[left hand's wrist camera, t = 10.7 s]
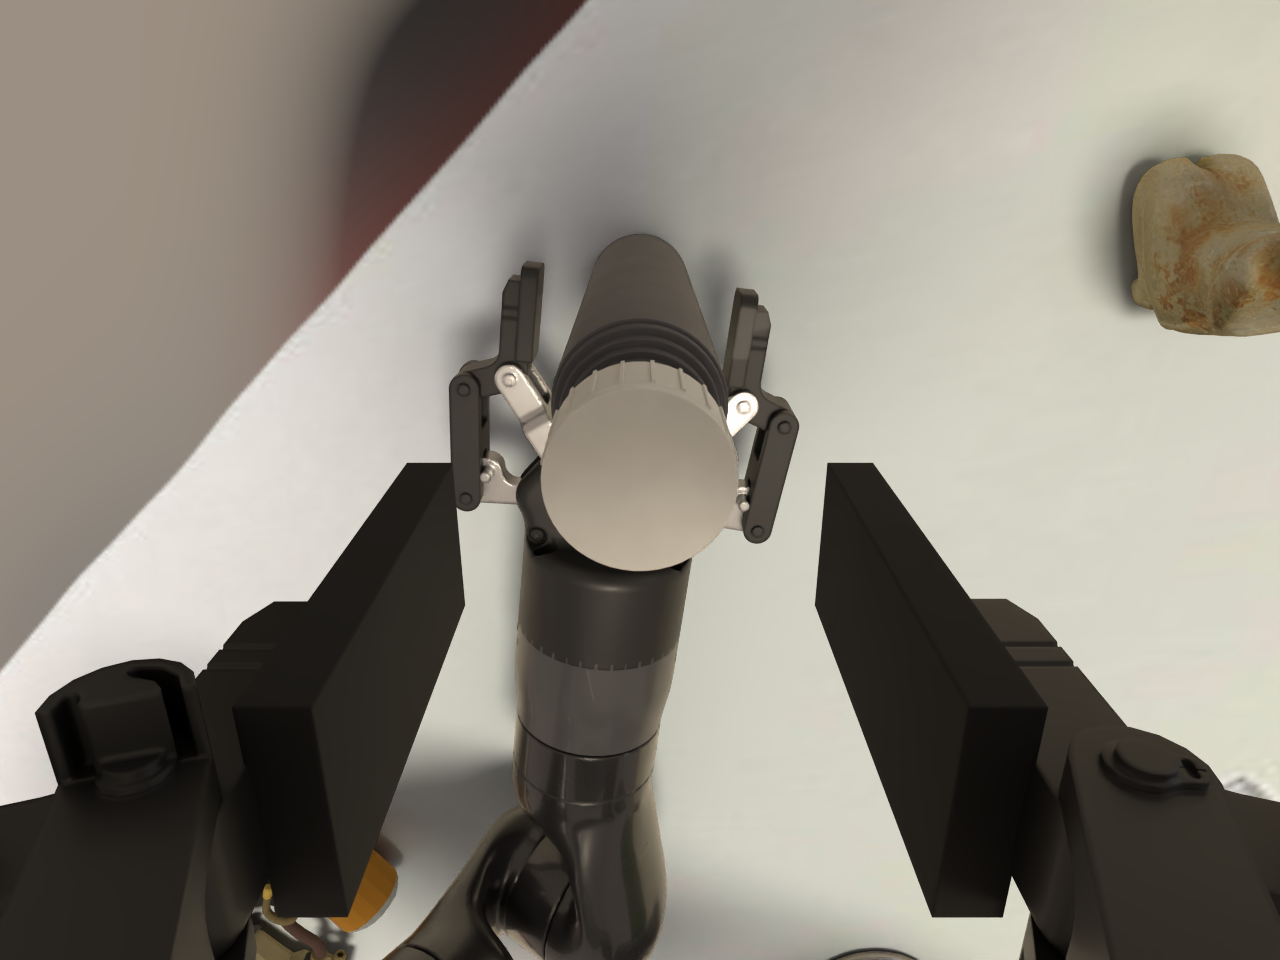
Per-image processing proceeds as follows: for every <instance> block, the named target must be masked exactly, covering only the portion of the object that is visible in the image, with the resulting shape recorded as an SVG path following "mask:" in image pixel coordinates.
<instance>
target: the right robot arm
mask: <svg viewBox="0 0 1280 960" xmlns="http://www.w3.org/2000/svg"><path fill="white" fill-rule="evenodd" d="M543 281H544V263H538V262H530V261H526V262H525V264H524V265H523V266H522V270H521V275H513V276H512V277H511V278H510V279H509V280H508V282H507V284H506V286H505V288H504V290H503V294H502V311H501V328H500V345H499V354H498V356H496V357H494V358H492V359H488V360H483V361H476V360H472V361H468V362H467V363H465V364H464V365H463V366H462V368H461V369H460V371H459V373H458V374H457V375H456V376H455V377H454V378H453V379H452V381H451V382H450V385H449V408H450V445H451V463H452V464H453V475H454V486H455V497H456V507H457V508H458V509H460V510H462V511H472V510H474V509H476V508H477V507H478V506H479V504H480V502H484V503H502V504H517V505H518V507H519V509H520V510H521V512H522V515H523V517H524V521H525V541H524V554H523V567H522V580H521V593H520V605H519V619H518V625H517V631H518V634H517V646H516V658H515V674H516V687H517V713H516V726H515V739H514V752H513V773H512V775H513V786H514V790H515V794H516V798H517V800H518V802H519V804H518V805H516V806H514V807H512V808H510V809H509V810H507V811H506V812H505V813H503V814H502V815H501V816H500V817H499V818H498V819H497V820H496V821H495V822H494V823H493V825H492V826H491V827H490V829H489V830H488V831H487V832H486V834H485V835H484V837H483V838H482V840H481V841H480V843H479V845H478V846H477V848H476V849H475V851H474V852H473V854H472V855H471V857H470V858H469V860H468V862H467V863H466V864H465V866H464V867H463V869H462V870H461V872H460V873H459V874H458V876H457V877H456V879H455V880H454V881H453V883H452V884H451V885H450V887H449V888H448V889H447V891H446V892H445V893H444V895H443V896H442V897H441V899H440V900H439V901H438V903H437V904H436V905H435V906H434V908H433V909H432V910H431V912H430V913H429V914H428V916H427V917H426V918H425V919H424V921H423V922H422V923H421V924H420V926H419V927H418V928H417V929H416V930H415V931H414V933H413V934H412V935H411V936H410V937H408V938H407V939H406V940H405V941H404V942H402V943H401V944H400V945H399V946H397V947H396V948H395V949H394V950H393V951H392V952H391V953H389V954H388V955H387V956H386V957H385V958H383V959H382V960H513V958H512V957H511V955H510V953H509V952H508V950H507V949H506V947H505V946H504V945H503V943H502V942H501V941H500V939H499V938H498V937H499V936H500V935H502V934H506V935H507V936H509V937H510V938H511V939H513V940H514V941H515V942H517V943H518V944H519V945H521V946H522V947H523V948H524V949H526V950H527V951H528V952H530V953H531V954H532V955H534V956H535V957H536V958H538V959H539V960H648V959H649V957H650V955H651V954H652V952H653V949H654V947H655V945H656V943H657V940H658V938H659V934H660V931H661V927H662V924H663V920H664V913H665V906H666V891H667V882H666V870H665V861H664V854H663V848H662V842H661V837H660V831H659V825H658V819H657V812H656V804H655V799H654V794H653V790H652V784H651V777H652V771H653V766H654V760H655V754H656V747H657V741H658V734H659V728H660V721H661V716H662V713H663V710H664V706H665V704H666V701H667V698H668V695H669V691H670V688H671V683H672V678H673V673H674V667H675V661H676V654H677V648H678V642H679V636H680V630H681V623H682V617H683V611H684V605H685V599H686V592H687V586H688V580H689V574H690V567H691V561H692V557H691V558H689V559H687V560H685V561H683V562H681V563H679V564H676V565H673V566H670V567H666V568H662V569H658V570H650V571H630V570H621V569H617V568H613V567H609V566H606V565H603V564H601V563H598V562H596V561H594V560H592V559H590V558H588V557H586V556H585V555H583V554H582V553H580V552H579V551H577V550H576V549H575V548H574V547H573V546H571V545H570V544H569V543H568V542H567V541H566V540H565V539H564V538H563V536H562V535H561V534H560V533H559V532H558V530H557V529H556V527H555V526H554V524H553V523H552V521H551V519H550V517H549V515H548V513H547V510H546V507H545V504H544V501H543V496H542V491H541V468H542V465H540V461H541V458H542V455H543V452H544V448H545V445H546V442H547V439H548V433H549V430H550V426H551V423H552V420H553V419H552V414H551V394H552V391H551V390H550V389H549V387H548V386H547V384H546V383H545V381H544V379H543V378H542V376H541V375H540V373H539V372H538V370H537V369H536V367H535V366H534V364H533V361H534V358H535V356H536V354H537V352H538V347H539V334H540V321H541V307H542V294H543ZM770 328H771V323H770V319H769V314H768V311H767V310H766V309H765V307H764V306H761V305H758V294H757V293H756V292H755V290H752V289H743V288H737V289H736V292H735V296H734V303H733V309H732V315H731V321H730V328H729V334H728V340H727V346H726V353H725V359H724V365H723V371H722V372H723V375H724V378H725V382H726V386H727V390H728V399H729V404H728V416H727V424H728V427H729V431H730V432H731V436H732V437H733V436H734V435H735V434H736V433H737V432H738V431H739V430H740V429H741V428H742V427H743V426H745V425H746V424H747V423H751V424H753V425H755V426H757V431H756V435H755V439H754V443H753V447H752V451H751V455H750V459H749V463H748V467H747V471H746V475H745V479H738V492H737V497H736V502H735V505H734V508H733V511H732V513H731V515H730V517H729V519H728V521H727V523H726V525H725V526H724V528H727V529H733V530H739V531H743V533H744V536H745V538H746V539H747V540H748V541H749V542H751V543H755V544H758V543H762V542H765V541H766V540H767V539H768V538H769V537H770V535H771V532H772V528H773V524H774V521H775V517H776V513H777V509H778V506H779V502H780V498H781V494H782V491H783V487H784V483H785V479H786V475H787V472H788V468H789V464H790V460H791V457H792V453H793V449H794V445H795V442H796V438H797V434H798V430H799V422H798V420H797V418H796V416H795V415H794V413H793V411H792V409H791V407H790V406H789V404H788V402H787V401H786V400H785V399H784V398H782V397H777V396H776V397H775V396H773V395H771V394H769V393H767V392H765V391H764V390H762V389H761V378H762V373H763V367H764V361H765V356H766V349H767V345H768V339H769V333H770ZM496 394H502V395H503V397H504V398H505V400H506V401H507V403H508V404H509V406H510V407H511V409H512V410H513V412H514V413H515V415H516V416H517V418H518V419H519V421H520V423H521V427H522V430H523V432H524V434H525V436H526V437H527V439H528V440H529V442H530V443H531V445H532V446H533V448H534V449H535V451H536V452H537V454H538V455H539V456H538V457H537V458H536V459H535V460H534V461H533V462H532V463H531V464H530V465H529V466H528V468H527V469H526V470H525V471H524V472H523V474H522V475H521V477H516V476H513V475H512V474H510V473H509V472H508V470H507V469H506V466H505V461H504V459H503V457H502V456H501V455H500V454H499V453H497V452H494V451H490V438H489V396H492V395H496ZM837 960H914V959H911V958H909V957H907V956H904V955H900V954H897V953H891V952H883V951H870V952H861V953H855V954H851V955H847V956H844V957H841V958H839V959H837Z"/></svg>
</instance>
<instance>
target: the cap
mask: <svg viewBox="0 0 1280 960" xmlns="http://www.w3.org/2000/svg"><path fill="white" fill-rule="evenodd" d="M737 461H739V459H738V455H737V452H736V449H735V445H734V442H733V439H732V436H731V432H730V431H729V427H728V424H727V421H726V418H725V414H724V411H723V408H722V406H720V407H718V405H717V403H716V402H715V400H714V399H713V397H712V396H711V395H710V393H709V392H708V391H707V387H706V385H705V384H703V385H701V384H700V383H699V382H697V381H696V380H695V379H693V378H692V377H691V376H689V375H687V374H685V373H684V372H683V369H681V368H679V369H675V368H673V367H670V366H667V365H663V364H659V363H655V362H654V360H650V362H645V361H644V362H626V363H625V361H621V363H620V364H616V365H613V366H609V367H607V368H604V369H602V370H599V371H597V370H594V371H593V374H592V375H590V376H589V377H587V378H586V379H585V380H583V381H582V382H581V383H580V384H578V385H577V386H576V387H575V388H574V387H572V388H571V389H570V392H569V395H568V396H567V398H566V399H565V400H564V402H563V404H562V406H561V407H560V409H559V411H558V410H556V411H555V414H554V417H553V420H552V423H551V426H550V430H549V433H548V439H547V442H546V445H545V448H544V452H543V455H542V458H541V461H540V465H542V468H541V491H542V496H543V501H544V504H545V507H546V510H547V513H548V515H549V517H550V519H551V521H552V523H553V524H554V526H555V527H556V529H557V530H558V532H559V533H560V534H561V535H562V536H563V538H564V539H565V540H566V541H567V542H568V543H569V544H570V545H571V546H573V547H574V548H575V549H576V550H577V551H579V552H580V553H582V554H583V555H585V556H586V557H588V558H590V559H592V560H594V561H596V562H598V563H601V564H603V565H606V566H609V567H613V568H617V569H621V570H630V571H650V570H658V569H662V568H666V567H670V566H673V565H676V564H679V563H681V562H683V561H685V560H687V559H689V558H691V557H693V556H695V555H696V554H697V553H699V552H700V551H702V550H703V549H704V548H706V547H707V546H708V545H709V544H710V543H711V542H712V541H713V540H714V539H715V538H716V537H717V536H718V534H719V533H720V532H721V531H722V529H723V528H724V526H725V525H726V523H727V521H728V519H729V517H730V515H731V513H732V511H733V508H734V505H735V502H736V497H737V492H738V478H739V476H738V466H737Z"/></svg>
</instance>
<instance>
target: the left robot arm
mask: <svg viewBox="0 0 1280 960" xmlns="http://www.w3.org/2000/svg"><path fill="white" fill-rule="evenodd" d="M464 606H465V599H464V588H463V576H462V565H461V554H460V543H459V531H458V520H457V509H456V497H455V486H454V475H453V464H452V463H407V464H406V465H405V467H404V468H403V469H402V471H401V472H400V474H399V475H398V476H397V478H396V479H395V481H394V482H393V483H392V485H391V486H390V487H389V489H388V490H387V492H386V493H385V494H384V496H383V497H382V499H381V500H380V501H379V503H378V504H377V506H376V507H375V508H374V510H373V511H372V513H371V514H370V515H369V517H368V518H367V520H366V521H365V522H364V524H363V525H362V526H361V528H360V529H359V531H358V532H357V533H356V535H355V536H354V538H353V539H352V540H351V542H350V543H349V545H348V546H347V547H346V549H345V550H344V552H343V553H342V554H341V556H340V557H339V558H338V560H337V561H336V563H335V564H334V565H333V567H332V568H331V570H330V571H329V572H328V574H327V575H326V577H325V578H324V579H323V581H322V582H321V584H320V585H319V586H318V588H317V589H316V591H315V592H314V593H313V595H312V596H311V597H310V599H309V600H308V602H273V603H271V604H270V605H268V606H266V607H265V608H263V609H262V610H260V611H259V612H257V613H255V614H254V615H252V616H251V617H249V618H248V619H246V620H244V621H243V622H242V623H241V624H240V625H239V627H238V628H237V629H236V630H235V631H234V633H233V634H232V635H231V636H230V638H229V639H228V640H227V641H226V642H225V644H224V645H223V650H219V651H218V652H217V653H216V655H215V656H214V657H213V658H212V659H211V661H210V662H209V663H208V664H207V670H202V672H201V673H200V674H199V675H198V676H197V678H196V679H195V676H194V672H193V671H192V670H191V669H189V668H188V667H186V666H185V665H184V664H182V663H181V662H176V661H170V660H165V659H145V660H132V661H127V662H123V663H119V664H115V665H111V666H107V667H103V668H100V669H98V670H96V671H93V672H91V673H89V674H86V675H84V676H82V677H79V678H77V679H74V680H73V681H71V682H70V683H68V684H67V685H65V686H63V687H62V688H60V689H59V690H57V691H56V692H54V693H53V694H51V695H50V696H49V697H48V698H47V699H46V700H45V702H44V703H43V704H42V705H41V706H40V707H39V709H38V710H37V711H36V712H35V715H36V718H37V721H38V724H39V728H40V731H41V734H42V737H43V740H44V743H45V746H46V749H47V752H48V755H49V758H50V761H51V765H52V768H53V771H54V774H55V777H56V780H57V783H58V787H57V789H56V791H55V794H51V795H48V796H44V797H40V798H36V799H31V800H26V801H21V802H17V803H12V804H7V805H3V806H0V960H256V954H257V945H256V939H255V933H254V928H253V923H252V919H251V913H252V911H253V909H254V907H255V905H256V903H257V901H258V899H259V897H260V895H261V893H262V891H263V889H264V887H265V885H266V883H267V881H268V879H269V881H270V886H271V891H272V895H273V900H274V904H275V909H276V914H277V917H348V916H349V913H350V910H351V908H352V905H353V902H354V900H355V897H356V894H357V892H358V889H359V886H360V884H361V881H362V878H363V876H364V873H365V870H366V868H367V865H368V862H369V860H370V857H371V854H372V852H373V849H374V846H375V844H376V841H377V838H378V836H379V833H380V830H381V828H382V825H383V822H384V820H385V817H386V814H387V812H388V809H389V806H390V804H391V801H392V798H393V796H394V793H395V790H396V788H397V785H398V782H399V780H400V777H401V774H402V772H403V769H404V766H405V764H406V761H407V758H408V756H409V753H410V750H411V748H412V745H413V742H414V740H415V737H416V734H417V732H418V729H419V726H420V724H421V721H422V718H423V716H424V713H425V710H426V708H427V705H428V702H429V700H430V697H431V694H432V692H433V689H434V686H435V684H436V681H437V678H438V676H439V673H440V670H441V668H442V665H443V662H444V660H445V657H446V654H447V652H448V649H449V646H450V644H451V641H452V638H453V636H454V633H455V630H456V628H457V625H458V622H459V620H460V617H461V614H462V612H463V609H464ZM815 606H816V609H817V612H818V614H819V617H820V620H821V622H822V625H823V628H824V630H825V633H826V636H827V638H828V641H829V644H830V646H831V649H832V652H833V654H834V657H835V660H836V662H837V665H838V668H839V670H840V673H841V676H842V678H843V681H844V684H845V686H846V689H847V692H848V694H849V697H850V700H851V702H852V705H853V708H854V710H855V713H856V716H857V718H858V721H859V724H860V726H861V729H862V732H863V734H864V737H865V740H866V742H867V745H868V748H869V750H870V753H871V756H872V758H873V761H874V764H875V766H876V769H877V772H878V774H879V777H880V780H881V782H882V785H883V788H884V790H885V793H886V796H887V798H888V801H889V804H890V806H891V809H892V812H893V814H894V817H895V820H896V822H897V825H898V828H899V830H900V833H901V836H902V838H903V841H904V844H905V846H906V849H907V852H908V854H909V857H910V860H911V862H912V865H913V868H914V870H915V873H916V876H917V878H918V881H919V884H920V886H921V889H922V892H923V894H924V897H925V900H926V902H927V905H928V908H929V910H930V913H931V916H932V917H1003V914H1004V909H1005V904H1006V900H1007V895H1008V891H1009V886H1010V881H1011V877H1013V879H1014V881H1015V883H1016V885H1017V887H1018V889H1019V891H1020V893H1021V895H1022V897H1023V899H1024V901H1025V903H1026V905H1027V907H1028V909H1029V911H1030V915H1029V919H1028V923H1027V928H1026V932H1025V936H1024V941H1023V945H1022V949H1021V953H1020V958H1019V960H1280V802H1276V801H1271V800H1267V799H1262V798H1257V797H1252V796H1248V795H1243V794H1239V793H1235V792H1231V791H1228V790H1224V787H1223V785H1222V783H1221V782H1220V781H1219V779H1218V778H1217V776H1216V775H1215V774H1214V772H1213V771H1212V770H1211V768H1210V767H1209V766H1208V765H1207V764H1206V763H1205V762H1203V761H1202V760H1201V759H1199V758H1198V757H1197V756H1195V755H1194V754H1193V753H1191V752H1190V751H1189V750H1188V749H1186V748H1184V747H1182V746H1180V745H1178V744H1176V743H1174V742H1172V741H1170V740H1168V739H1166V738H1164V737H1161V736H1159V735H1156V734H1153V733H1149V732H1146V731H1142V730H1139V729H1135V728H1131V727H1127V726H1126V724H1125V723H1124V722H1123V721H1122V720H1121V718H1120V717H1119V716H1118V715H1117V714H1116V712H1115V711H1114V710H1113V709H1112V708H1111V706H1110V705H1109V704H1108V703H1107V702H1106V700H1105V699H1104V698H1103V697H1102V696H1101V694H1100V693H1099V692H1098V691H1097V689H1096V688H1095V687H1094V686H1093V685H1092V683H1091V682H1090V681H1089V680H1088V679H1087V677H1086V676H1085V675H1084V674H1083V673H1082V671H1081V670H1080V669H1079V668H1078V667H1074V665H1073V661H1072V659H1071V658H1070V657H1069V656H1068V654H1067V653H1066V652H1065V651H1064V650H1063V648H1062V647H1058V646H1057V641H1056V640H1055V639H1054V638H1053V636H1052V635H1051V634H1050V633H1049V632H1048V630H1047V629H1046V628H1045V627H1044V626H1043V624H1042V623H1041V622H1040V621H1039V620H1038V619H1037V618H1036V617H1034V616H1033V615H1031V614H1029V613H1028V612H1026V611H1025V610H1023V609H1021V608H1020V607H1018V606H1017V605H1015V604H1014V603H1012V602H1010V601H1009V600H1007V599H970V597H969V596H968V595H967V593H966V592H965V591H964V589H963V588H962V586H961V585H960V584H959V582H958V581H957V579H956V578H955V577H954V575H953V574H952V572H951V571H950V570H949V568H948V567H947V565H946V564H945V563H944V561H943V560H942V558H941V557H940V556H939V554H938V553H937V552H936V550H935V549H934V547H933V546H932V545H931V543H930V542H929V540H928V539H927V538H926V536H925V535H924V533H923V532H922V531H921V529H920V528H919V526H918V525H917V524H916V522H915V521H914V520H913V518H912V517H911V515H910V514H909V513H908V511H907V510H906V508H905V507H904V506H903V504H902V503H901V501H900V500H899V499H898V497H897V496H896V494H895V493H894V492H893V490H892V489H891V487H890V486H889V485H888V483H887V482H886V481H885V479H884V478H883V476H882V475H881V474H880V472H879V471H878V469H877V468H876V467H875V465H874V464H873V463H828V464H827V475H826V486H825V497H824V509H823V520H822V531H821V543H820V554H819V565H818V576H817V588H816V599H815Z"/></svg>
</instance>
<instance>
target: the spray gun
mask: <svg viewBox="0 0 1280 960" xmlns="http://www.w3.org/2000/svg"><path fill="white" fill-rule="evenodd" d="M397 885H398V875H397V872H396V869H395V868H394V867H393V866H391V865H390V864H389V863H388V862H387V861H386V860H385V859H384V858H383V857H382V856H381V855H379V854H378V853H377V852H376V851H375V850H374V849H373V852H372V854H371V857H370V860H369V862H368V865H367V868H366V870H365V873H364V876H363V878H362V881H361V884H360V886H359V889H358V892H357V894H356V897H355V900H354V902H353V905H352V908H351V910H350V913H349V916H348V917H328V918H329V919H330V920H332V921H333V922H334V923H335V924H336V925H337V926H338V927H339V928H340V929H341V930H343V931H345V932H347V933H352V932H356V931H359V930H362V929H364V928H367V927H368V926H370V925H371V924H373V923H374V922H375V921H377V920H378V919H379V918H380V917H381V916H382V915H383V913H384V912H385V911H386V909H387V908H388V907H389V905H390V904H391V902H392V901H393V899H394V897H395V895H396V891H397ZM261 905H262V912H263V914H264V916H265V917H266V918H267V919H268V920H269V921H271V922H273V923H275V924H278V925H282V927H283V928H284V929H285V930H286V931H287V932H289V933H290V934H291V935H292V936H294V937H295V938H296V939H298V940H299V941H301V942H303V943H304V944H306V945H308V946H309V947H311V948H312V949H313V951H312V952H310V951H308V950H300V951H297V952H292V951H290V950H289V949H287V948H286V947H285V946H283V945H282V944H281V943H279V942H278V941H276V940H275V939H274V938H272V937H271V936H270V935H268V934H267V933H265V932H264V931H262V930H260V929H261V928H262V927H263V925H264V923H263V922H262V921H255V920H252V923H253V928H254V933H255V939H256V945H257V954H256V960H347V955H346V952H345V951H344V950H338V951H336V952H335V953H334V954H329V953H328V949H327V948H326V947H325V944H324V943H323V941H322V940H321V939H320V938H319V937H318V936H316V935H315V934H313V933H311V932H310V931H308V930H306V929H305V928H303V927H302V926H301V925H299V924H298V923H297V922H296V919H297V918H298V917H277V914H276V909H275V904H274V900H273V895H272V891H271V886H270V881H269V879H268V881H267V883H266V885H265V887H264V889H263V891H262V893H261V895H260V897H259V899H258V901H257V903H256V905H255V906H261ZM270 905H271V906H274V910H275V912H273V911H272V910H271V908H270Z"/></svg>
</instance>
